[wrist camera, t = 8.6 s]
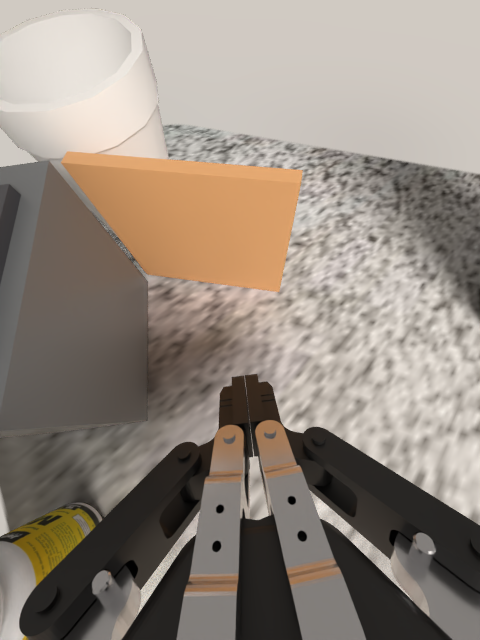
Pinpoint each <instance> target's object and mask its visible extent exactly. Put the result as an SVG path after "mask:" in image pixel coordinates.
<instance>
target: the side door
mask: <svg viewBox="0 0 480 640" xmlns="http://www.w3.org/2000/svg"><path fill="white" fill-rule="evenodd" d="M61 164H62V165H63V166H64V167H65V169H66V170H67V171H68V173H69V174H70V175H71V176H72V178H73V179H74V180H75V182H76V183H77V184H78V186H79V187H80V188H81V189H82V191H83V192H84V193H85V195H86V196H87V197H88V198H89V200H90V201H91V202H92V204H93V205H94V206H95V208H96V209H97V210H98V211H99V213H100V214H101V215H102V217H103V218H104V219H105V220H106V222H107V223H108V224H109V226H110V227H111V228H112V229H113V231H114V232H115V233H116V235H117V236H118V237H119V239H120V240H121V241H122V242H123V244H124V245H125V246H126V248H127V249H128V250H129V251H130V253H131V254H132V255H133V257H134V258H135V259H136V261H137V262H138V263H139V264H140V266H141V267H142V268H143V270H144V271H145V272H146V273H147V274H149V275H156V276H164V277H171V278H179V279H186V280H193V281H201V282H208V283H216V284H223V285H231V286H238V287H246V288H253V289H261V290H268V291H276V292H279V290H280V285H281V280H282V275H283V270H284V265H285V260H286V255H287V250H288V245H289V240H290V235H291V230H292V225H293V220H294V215H295V211H296V206H297V201H298V196H299V191H300V186H301V179H302V172H303V170H293V169H281V168H268V167H256V166H243V165H231V164H219V163H206V162H194V161H181V160H169V159H156V158H144V157H132V156H119V155H107V154H94V153H82V152H70V151H67V152H66V154H65V156H64V158H63V159H62V161H61Z"/></svg>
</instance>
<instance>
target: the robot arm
mask: <svg viewBox="0 0 480 640" xmlns="http://www.w3.org/2000/svg"><path fill="white" fill-rule="evenodd" d="M245 380H246V387H245ZM246 390H247V394H246ZM247 400H248V402H247ZM248 409H249V411H248ZM249 419H250V421H249ZM250 427H251V431H250ZM251 434H252V440H251ZM252 442H253V449H254V456H258V458H259V466H260V473H261V478H262V483H263V488H264V493H265V498H266V503H267V508H268V513H269V516H268V517H265V518H263V519H261V520H252V519H250V473H249V469H250V462H249V457H253V450H252ZM309 490H310V491H312V492H313V493H314V494H315V495H316V496H317V497H318V498H320V499H321V500H322V501H323V502H324V503H325V504H327V505H328V506H329V507H330V508H331V509H332V510H334V511H335V512H336V513H337V514H338V515H339V516H341V517H342V518H343V519H344V520H345V521H346V522H347V523H349V524H350V525H351V526H352V527H353V528H354V529H356V530H357V531H358V532H359V533H360V534H361V535H363V536H364V537H365V538H366V539H367V540H368V541H370V542H371V543H372V544H373V545H374V546H375V547H376V548H378V549H379V550H380V551H381V552H382V553H383V554H385V555H386V556H387V557H388V558H389V559H390V561H391V569H392V572H393V574H394V576H395V578H396V580H397V582H398V583H399V585H400V586H401V587H402V588H403V589H404V590H405V592H406V593H407V594H408V595H409V596H410V597H411V599H412V600H413V601H412V600H411V599H410V598H409V597H408V596H407V595H406V594H405V593H404V592H403V591H402V590H401V589H400V588H399V587H397V586H396V585H395V584H394V583H393V582H392V581H391V580H390V579H389V578H388V577H387V576H386V575H385V574H384V573H383V572H382V571H381V570H380V569H379V568H378V567H377V566H376V565H375V564H374V563H373V562H372V561H370V560H369V559H368V558H367V557H366V556H365V555H364V554H363V553H362V552H361V551H360V550H359V549H358V548H357V547H356V546H355V545H354V544H353V543H352V542H351V541H350V540H349V539H348V538H347V537H346V536H345V535H343V534H342V533H341V532H340V531H339V530H338V529H337V528H335V527H334V526H333V525H331V524H330V523H328V522H326V521H324V520H322V519H320V518H319V516H318V513H317V510H316V507H315V505H314V502H313V499H312V496H311V494H310V491H309ZM199 510H200V514H199V520H198V527H197V533H196V535H195V536H194V537H193V538H192V539H191V540H190V541H189V542H187V544H186V545H185V546H184V547H183V548H182V550H181V551H180V553H179V554H178V556H177V557H176V559H175V560H174V562H173V563H172V565H171V566H170V568H169V569H168V571H167V572H166V574H165V575H164V577H163V578H162V580H161V581H160V583H159V584H158V586H157V587H156V589H155V590H154V592H153V593H152V595H151V596H150V598H149V599H148V601H147V602H146V604H145V605H144V607H143V608H142V610H141V611H140V613H139V614H138V616H137V617H136V615H137V613H138V610H139V607H140V602H141V592H140V590H141V589H142V587H143V586H144V585H145V583H146V582H147V581H148V579H149V578H150V577H151V575H152V574H153V573H154V571H155V570H156V569H157V567H158V566H159V564H160V563H161V562H162V560H163V559H164V558H165V556H166V555H167V554H168V552H169V551H170V550H171V548H172V547H173V545H174V544H175V543H176V541H177V540H178V539H179V537H180V536H181V535H182V533H183V532H184V531H185V529H186V528H187V527H188V525H189V524H190V522H191V521H192V520H193V518H194V517H195V516H196V514H197V513H198V512H199ZM135 618H136V619H135ZM134 619H135V620H134ZM133 621H134V622H133ZM19 628H20V631H21V632H22V634H23V635H25V636H26V637H27V638H28V639H29V640H480V525H478V524H476V523H475V522H473V521H472V520H470V519H468V518H467V517H465V516H464V515H462V514H460V513H459V512H457V511H456V510H454V509H452V508H451V507H449V506H448V505H446V504H444V503H443V502H441V501H440V500H438V499H436V498H435V497H433V496H432V495H430V494H428V493H427V492H425V491H424V490H422V489H420V488H419V487H417V486H416V485H414V484H412V483H411V482H409V481H408V480H406V479H404V478H403V477H401V476H400V475H398V474H396V473H395V472H393V471H392V470H390V469H388V468H387V467H385V466H384V465H382V464H380V463H379V462H377V461H376V460H374V459H372V458H371V457H369V456H368V455H366V454H364V453H363V452H361V451H360V450H358V449H356V448H355V447H353V446H352V445H350V444H348V443H347V442H345V441H344V440H342V439H340V438H339V437H337V436H336V435H334V434H332V433H331V432H329V431H328V430H326V429H324V428H320V427H311V428H309V429H307V430H306V431H305V432H304V433H297V432H293V431H290V430H288V429H287V428H285V427H284V426H283V425H282V423H281V420H280V416H279V412H278V408H277V404H276V401H275V396H274V392H273V388H272V386H271V385H270V384H269V383H268V382H260V383H259V382H258V376H257V374H252V375H245V379H244V376H237V377H232V386H228V387H224V388H223V389H222V391H221V393H220V408H219V430H218V431H217V433H216V435H215V437H214V438H213V439H212V440H211V441H210V442H208V443H206V444H203V445H201V446H199V447H198V446H197V445H196V444H195V443H192V442H185V443H181V444H179V445H178V446H176V447H175V448H174V449H173V450H172V451H171V452H170V453H169V454H168V455H167V456H166V457H165V458H164V459H163V460H162V461H161V462H160V463H159V464H158V465H157V466H156V467H155V468H154V469H153V470H152V471H151V472H150V473H149V474H148V475H147V476H146V477H145V478H144V479H143V480H142V481H141V482H140V483H139V484H138V485H137V486H136V487H135V488H134V489H133V490H132V491H131V492H130V493H129V494H128V495H127V496H126V497H125V498H124V499H123V500H122V501H121V502H120V503H119V504H118V505H117V506H116V507H115V508H114V509H113V510H112V511H111V512H110V513H109V514H108V515H107V516H106V517H105V518H104V519H103V520H102V521H101V522H100V523H99V524H98V525H97V526H96V527H95V528H94V529H93V530H92V531H91V532H90V533H89V534H88V535H87V536H86V537H85V538H84V539H83V540H82V541H81V542H80V543H79V544H78V545H77V546H76V547H75V548H74V549H73V550H72V551H71V552H70V553H69V554H68V555H67V556H66V557H65V558H64V559H63V560H62V561H61V562H60V563H59V564H58V565H57V566H56V567H55V568H54V569H53V570H52V571H51V572H50V573H49V574H48V575H47V576H46V577H45V578H44V579H43V580H42V581H41V582H40V583H39V584H38V585H37V586H36V587H35V588H34V590H33V591H32V592H31V594H30V595H29V597H28V598H27V600H26V602H25V604H24V606H23V608H22V611H21V614H20V618H19Z"/></svg>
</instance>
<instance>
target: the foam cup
mask: <svg viewBox="0 0 480 640" xmlns="http://www.w3.org/2000/svg"><path fill="white" fill-rule="evenodd" d="M158 102H159V101H158V90H157V81H156V78H155V74H154V71H153V68H152V64H151V61H150V58H149V54H148V51H147V47H146V44H145V40H144V37H143V34H142V30H141V29H140V28H139V27H138V26H137V25H135V24H134V23H133V22H132V21H131V20H130V19H128V18H127V17H126V16H125V15H123V14H119V13H114V12H110V11H106V10H102V9H97V8H92V9H75V10H61V11H58V12H55V13H51V14H48V15H44V16H40V17H37V18H33V19H30V20H27V21H25V22H23V23H21V24H19V25H17V26H15V27H13V28H12V29H10V30H8V31H6V32H4V33H3V34H0V128H1V129H2V130H3V131H4V132H5V133H6V134H7V135H8V136H9V138H10V139H11V140H12V141H13V142H14V143H15V144H16V145H17V147H18V148H20V149H23V150H26V151H27V152H29V153H30V154H31V155H32V156H33V157H34V158H35V159H36V160H37V161H38V162H41V161H50V162H51V164H52V165H53V166H54V167H55V168H56V170H57V171H58V172H59V173H60V175H61V176H62V177H63V178H64V180H65V181H66V182H67V183H68V184H69V186H70V187H71V188H72V189H73V191H74V192H75V193H76V194H77V195H78V197H79V198H80V199H81V200H82V202H83V203H84V204H85V205H86V207H87V208H88V209H89V210H90V211H91V212H92V213H93V214H94V215H95V216H96V217H97V218H98V219H100V220H101V221H102V222H103V223H104V224H105V225H106V226H107V227H108V228H109V229H110V230H111V231H112V232H113V233H114V234H115V235H116V233H115V232H114V231H113V229H112V228H111V227H110V226H109V224H108V223H107V222H106V220H105V219H104V218H103V217H102V215H101V214H100V213H99V211H98V210H97V209H96V208H95V206H94V205H93V204H92V202H91V201H90V200H89V198H88V197H87V196H86V195H85V193H84V192H83V191H82V189H81V188H80V187H79V186H78V184H77V183H76V182H75V180H74V179H73V178H72V176H71V175H70V174H69V173H68V171H67V170H66V169H65V167H64V166H63V165H62V164H61V161H62V159H63V158H64V156H65V154H66V152H67V151H70V152H82V153H94V154H107V155H119V156H132V157H144V158H156V159H169V157H168V152H167V147H166V142H165V137H164V132H163V127H162V122H161V117H160V112H159V107H158Z"/></svg>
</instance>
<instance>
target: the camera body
mask: <svg viewBox="0 0 480 640" xmlns="http://www.w3.org/2000/svg"><path fill="white" fill-rule="evenodd" d="M147 364H148V282H147V280H146V279H145V278H144V277H143V275H142V274H141V273H140V272H139V270H138V269H137V268H136V267H135V266H134V264H133V263H132V262H131V261H130V259H129V258H128V257H127V256H126V254H125V253H124V252H123V251H122V250H121V248H120V247H119V246H118V245H117V243H116V242H115V241H114V240H113V239H112V237H111V236H110V235H109V234H108V232H107V231H106V230H105V229H104V227H103V226H102V225H101V224H100V223H99V221H98V220H97V219H96V218H95V216H94V215H93V214H92V213H91V211H90V210H89V209H88V208H87V207H86V205H85V204H84V203H83V202H82V200H81V199H80V198H79V197H78V195H77V194H76V193H75V192H74V191H73V189H72V188H71V187H70V186H69V184H68V183H67V182H66V181H65V180H64V178H63V177H62V176H61V175H60V173H59V172H58V171H57V170H56V168H55V167H54V166H53V165H52V164H51V162H50V161H41V162H35V163H27V164H20V165H13V166H6V167H0V438H4V437H14V436H24V435H34V434H45V433H55V432H65V431H74V430H81V429H89V428H96V427H104V426H111V425H119V424H126V423H134V422H141V421H147Z"/></svg>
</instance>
